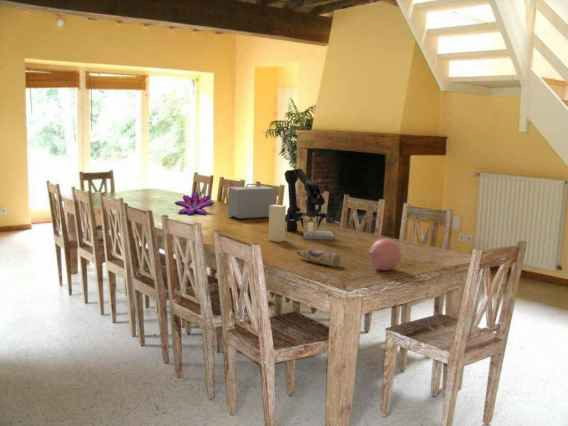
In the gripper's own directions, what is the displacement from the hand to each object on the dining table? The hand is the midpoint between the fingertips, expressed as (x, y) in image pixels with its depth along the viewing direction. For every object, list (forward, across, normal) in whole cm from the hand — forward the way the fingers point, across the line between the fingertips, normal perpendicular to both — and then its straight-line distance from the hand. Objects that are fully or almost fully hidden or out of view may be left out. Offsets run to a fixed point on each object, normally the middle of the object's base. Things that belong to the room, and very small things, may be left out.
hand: (310, 228), depth 366 cm
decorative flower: (+5, -83, +82) cm, 117 cm away
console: (+5, +5, 0) cm, 7 cm away
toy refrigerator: (+5, -21, -15) cm, 26 cm away
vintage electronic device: (+5, -39, +69) cm, 79 cm away
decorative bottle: (+5, 0, -69) cm, 69 cm away
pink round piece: (+5, +29, -83) cm, 88 cm away
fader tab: (+3, 0, 0) cm, 3 cm away
